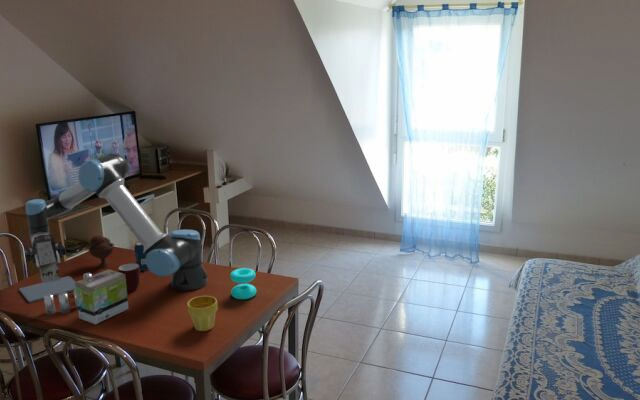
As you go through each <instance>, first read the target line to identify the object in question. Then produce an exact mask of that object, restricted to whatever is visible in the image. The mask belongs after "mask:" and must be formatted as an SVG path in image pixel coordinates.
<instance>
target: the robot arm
mask: <svg viewBox="0 0 640 400" xmlns="http://www.w3.org/2000/svg"><path fill="white" fill-rule="evenodd" d="M129 172H130V165H129V162H128V160H127V159H126V158H125V157H124V156H123V155H121V154H118V153H109V154H106V155H102V156H99V157H95V158H91V159H88V160H86V161H84V162H82V164H81V165H80V166H79V169H78V176H77V177H78V182H77V183H75V184H73V185H72V186H71V187H68V188H67V189H66V190H65V191H63V192H61V193H60V194H59V195H57V196H55V197H53V198H51V199H49V200H44V199H42V198H36V199H34V198H33V199H31V200H28V201H27V202H26V203H25V214H26V218H27V224H28V231H29V239H30V241H31V246H32V247H31V248H30V247H25V248H24V253H25V258H26V259H25V260H26V262H28V263H30V262H31V263H32V264H35V265H36V267H37V268H39V261H38V257H37V254H36V248H35V242H34V237H38V236H43V235H48V234H51V232H50V225H49V220H51V219H53V218H56V217H57V216H60V215H62V214H66V213H69V212H70V211H71V210H73V208H74V207H75V206H77V205H79V204H80V203H82V202H83V201H85V200H86V199H88V198H89V197H92V196H93V195H94V194H96V195H97V196H98V198H101V199H104V200H106V201H107V203H108V204H109V205H110V206H111V208H112V209H113V210H114V211H115V212H116V214H117V215H118V216H119V217H120V219H121V220H122V221H123V222H124V224H125V225H126V226H127V227H128V228H129V230H130V231H131V232H132V233H133V235H134V236H135V238H137V240H138V242H139V241H140V242H141V244H142V245H143V246H144V252H143V253H144V254H145V255H146V265H147V267H148V269H149V271H150V272H151V273H152V274H154V275H155V276H156V277H162V278H163V277H165V278H166V277H169V276H170V287H171V288H173V289H174V290H177V291H183V292H184V291H185V292H187V291H194V290H198V289H201V288H203V287H205V286H206V285H207V284H208V283H209V281H208V280H209V279H208V275H207V272H206V270H205V268H204V266H203V257H202V245H201V243H202V242H201V236H200V235H201V234H200V232H198V231H197V230H194V229H175V230H173V231H171V232H170V235H169V234H168V233H164V232H162V230H160V228H159V227H158V226H157V225H156V223H155V222H154V221H153V220H152V218H151V217H150V215H148V213H147V212H146V211H145V210H144V208H142V206H141V204H139V202H138V201H137V199H135V197H134V196H133V195H132V193H131V192H130V191H129V189H128V188H127V187H126V186H125V179H126V178H127V176H128V174H129ZM55 247H56V254H57V261H58V264H59V263H60V264H61V259H62V258H63V256H66V255H67V251H66V247H64V245H63V242H62V241H59V242H58V243H55Z"/></svg>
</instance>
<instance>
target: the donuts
mask: <svg viewBox="0 0 640 400" xmlns="http://www.w3.org/2000/svg"><path fill="white" fill-rule="evenodd" d="M229 275H230V276H229V278H230V279H231V281H232V282H234V283H236V284H237V283H238V284H237V285H235V286H234V287H233V288H232V289H231V291H230V292H231V293H230V294H231V297H233V298H235V299H236V300H248V299H252V298H253V297H254V296H255V295H256V294H257V291H258V290H257V288H256V287H255V286H254V285H253V284H250V282H252V281H253V280H255V279H256V276H257V275H256V272H255V270H254V269H252V268H249V267H248V268H247V267H242V268H241V267H240V268H237V269H234V270H232V271H231V273H230V274H229Z"/></svg>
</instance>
